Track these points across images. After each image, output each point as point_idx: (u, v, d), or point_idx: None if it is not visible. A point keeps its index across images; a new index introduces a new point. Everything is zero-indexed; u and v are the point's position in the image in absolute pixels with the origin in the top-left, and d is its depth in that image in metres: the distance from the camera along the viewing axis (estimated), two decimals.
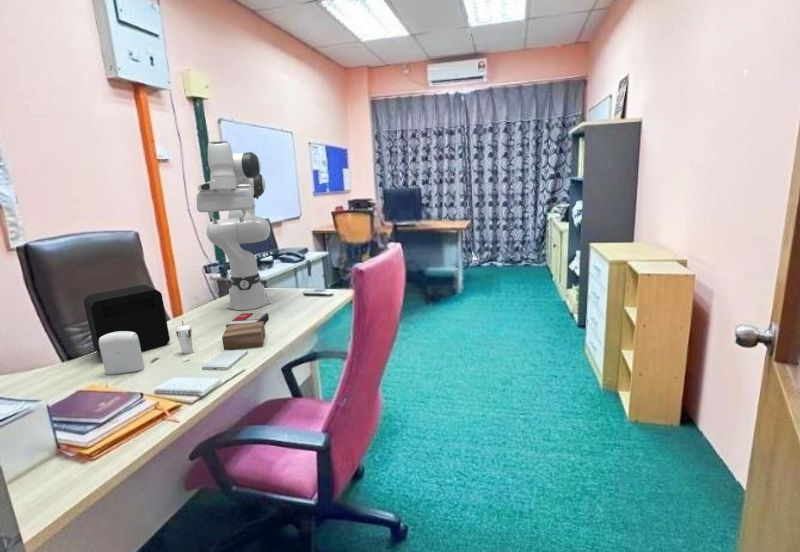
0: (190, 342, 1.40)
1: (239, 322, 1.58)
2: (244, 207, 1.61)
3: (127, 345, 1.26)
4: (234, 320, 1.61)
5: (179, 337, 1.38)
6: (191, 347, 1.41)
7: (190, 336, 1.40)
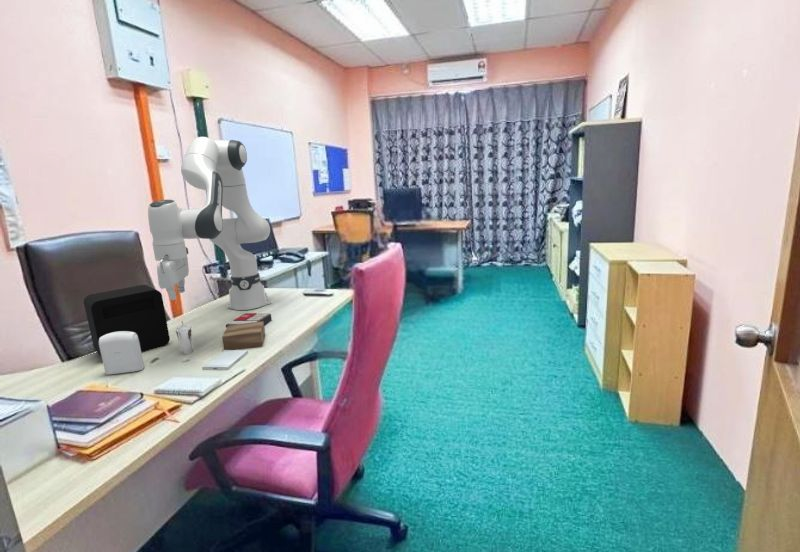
0: (190, 342, 1.40)
1: (239, 322, 1.58)
2: None
3: (127, 345, 1.26)
4: (235, 320, 1.61)
5: (179, 337, 1.38)
6: (191, 347, 1.41)
7: (190, 336, 1.40)
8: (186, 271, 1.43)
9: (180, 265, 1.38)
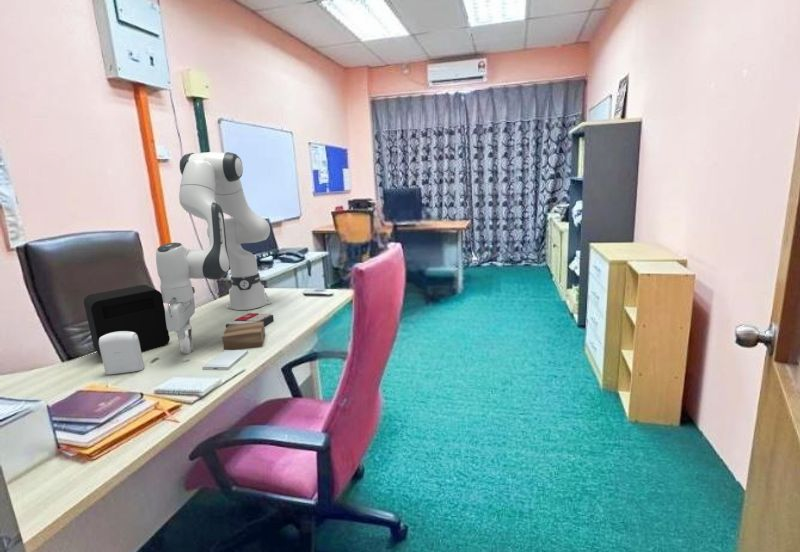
0: (190, 342, 1.40)
1: (238, 322, 1.57)
2: None
3: (127, 345, 1.26)
4: (236, 320, 1.61)
5: None
6: (191, 347, 1.41)
7: (190, 335, 1.40)
8: (192, 309, 1.46)
9: (187, 305, 1.41)
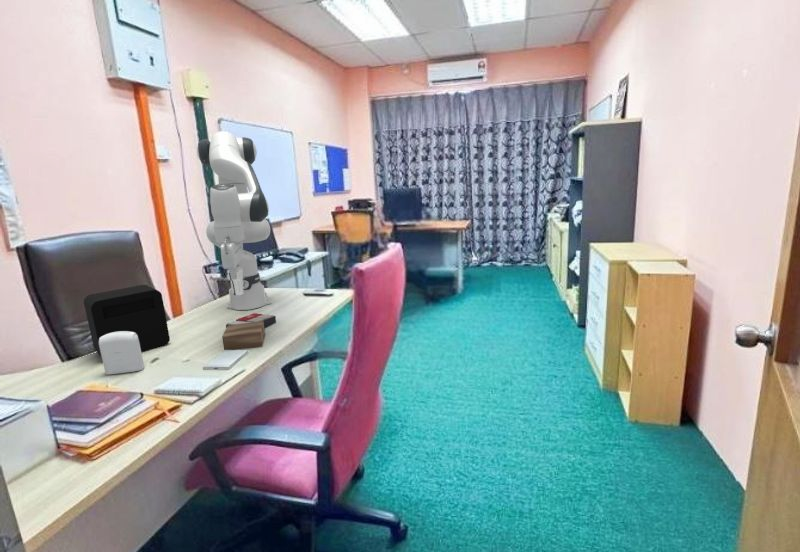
0: (241, 284, 1.42)
1: (238, 323, 1.57)
2: None
3: (127, 345, 1.26)
4: (237, 320, 1.61)
5: None
6: (242, 289, 1.43)
7: (241, 278, 1.42)
8: (241, 253, 1.48)
9: (237, 247, 1.43)
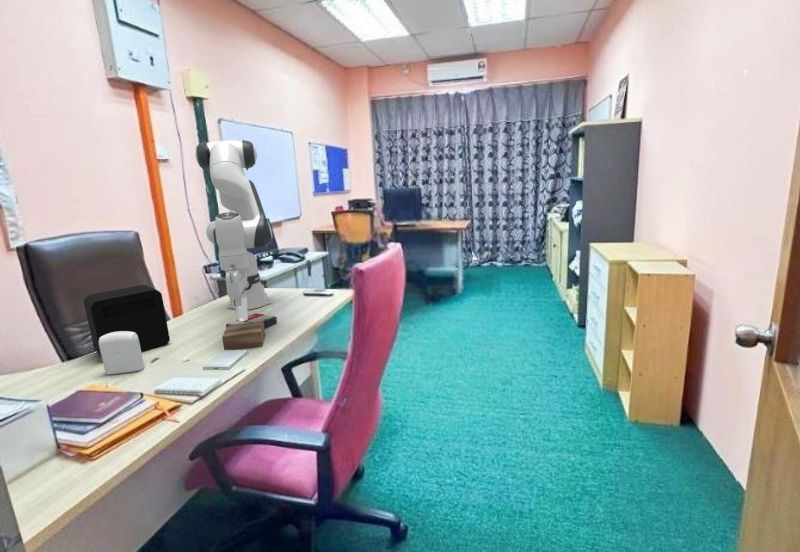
0: (246, 310, 1.44)
1: (237, 323, 1.57)
2: None
3: (127, 345, 1.26)
4: (237, 320, 1.61)
5: None
6: (246, 315, 1.45)
7: (246, 304, 1.44)
8: (246, 279, 1.50)
9: (242, 274, 1.45)
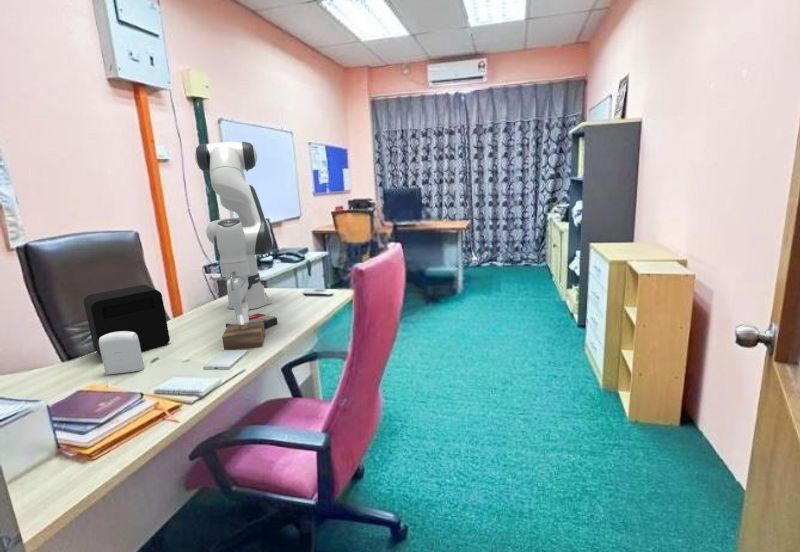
0: (247, 318, 1.45)
1: (237, 323, 1.57)
2: None
3: (127, 345, 1.26)
4: None
5: None
6: (248, 323, 1.46)
7: (247, 313, 1.45)
8: (246, 286, 1.51)
9: (243, 281, 1.46)
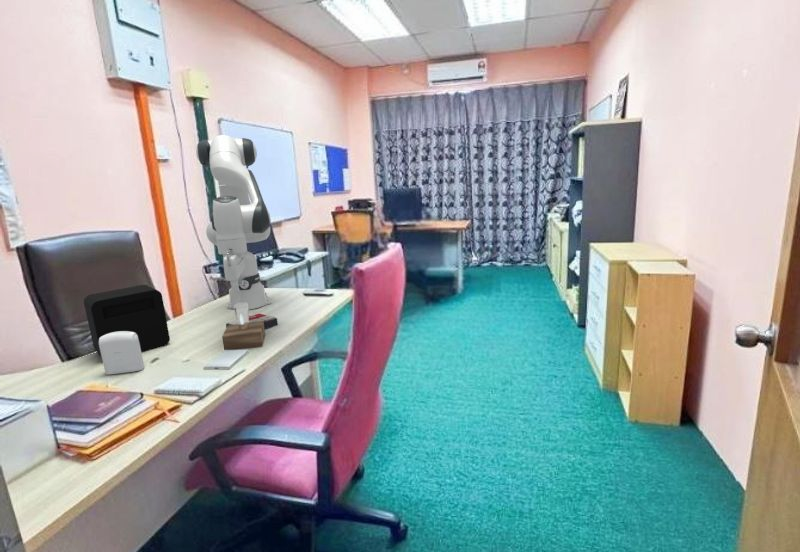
0: (247, 318, 1.45)
1: (236, 323, 1.57)
2: None
3: (127, 345, 1.26)
4: None
5: (237, 313, 1.43)
6: (248, 323, 1.46)
7: (247, 313, 1.45)
8: (244, 265, 1.49)
9: (240, 259, 1.44)
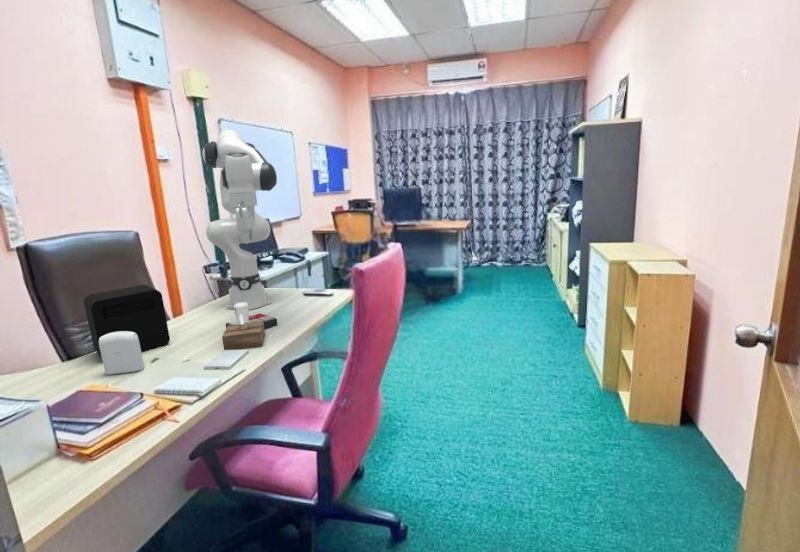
0: (247, 318, 1.45)
1: (236, 323, 1.57)
2: None
3: (127, 345, 1.26)
4: None
5: (237, 313, 1.43)
6: (248, 323, 1.46)
7: (247, 313, 1.45)
8: (253, 221, 1.56)
9: (250, 214, 1.51)
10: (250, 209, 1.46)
